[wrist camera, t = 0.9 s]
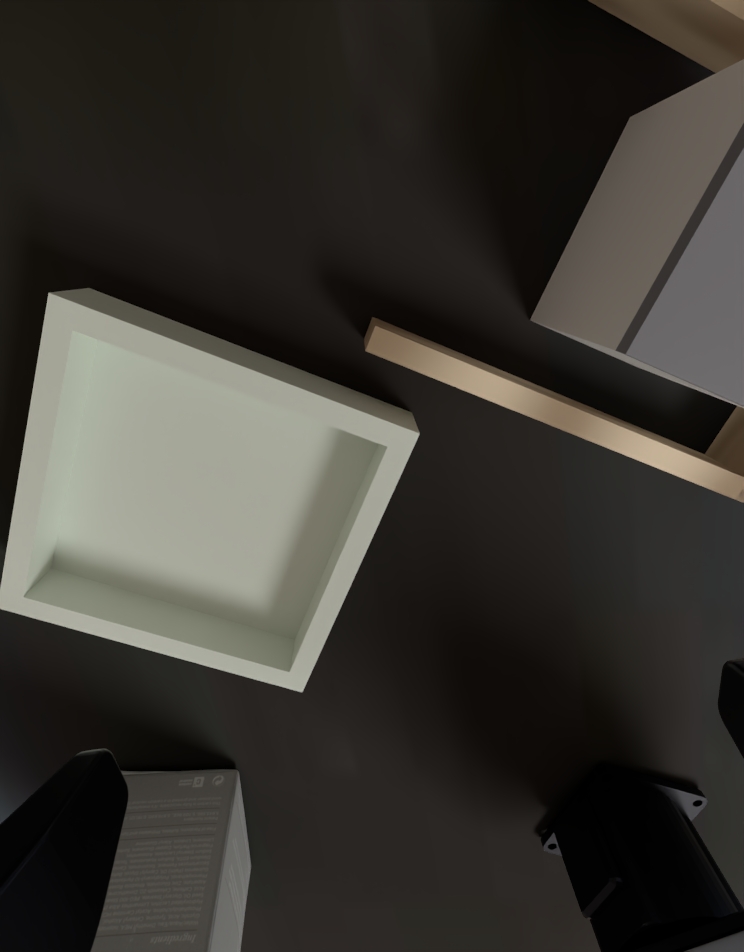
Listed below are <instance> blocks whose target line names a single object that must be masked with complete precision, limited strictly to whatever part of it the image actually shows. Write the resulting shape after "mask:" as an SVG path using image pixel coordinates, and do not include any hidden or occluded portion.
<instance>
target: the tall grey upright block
mask: <svg viewBox="0 0 744 952" xmlns="http://www.w3.org/2000/svg"><path fill="white" fill-rule="evenodd" d="M530 321H533V322H535V323H537V324H540V325H542V326H544V327H546V328H549V329H551V330H553V331H556V332H558V333H560V334H562V335H565V336H567V337H569V338H572V339H574V340H576V341H578V342H581V343H583V344H585V345H588V346H590V347H592V348H594V349H597V350H599V351H601V352H604V353H606V354H608V355H610V356H613V357H615V358H617V359H620V360H622V361H624V362H627V363H629V364H631V365H633V366H636V367H638V368H641V369H643V370H646V371H648V372H651V373H654V374H656V375H659V376H661V377H664V378H667V379H669V380H672V381H674V382H677V383H680V384H682V385H685V386H687V387H690V388H693V389H695V390H698V391H700V392H703V393H706V394H708V395H711V396H713V397H716V398H718V399H721V400H724V401H726V402H729V403H731V404H734V405H737V406H739V407H742V408H744V59H743V60H741V61H739V62H737V63H735V64H733V65H731V66H729V67H727V68H725V69H723V70H721V71H719V72H718V73H716V74H714V75H712V76H710V77H708V78H706V79H704V80H702V81H700V82H698V83H696V84H694V85H692V86H690V87H688V88H686V89H684V90H682V91H680V92H678V93H676V94H674V95H673V96H671V97H669V98H667V99H665V100H663V101H661V102H659V103H657V104H655V105H653V106H651V107H649V108H647V109H645V110H643V111H641V112H639V113H637V114H635V115H633V116H631V117H630V118H629V120H628V122H627V124H626V126H625V128H624V130H623V132H622V134H621V136H620V138H619V140H618V142H617V145H616V147H615V149H614V151H613V153H612V155H611V157H610V159H609V161H608V163H607V165H606V167H605V169H604V171H603V173H602V175H601V177H600V179H599V181H598V183H597V185H596V187H595V189H594V191H593V193H592V195H591V197H590V199H589V201H588V203H587V205H586V207H585V209H584V211H583V213H582V215H581V217H580V219H579V221H578V224H577V226H576V228H575V230H574V232H573V234H572V236H571V238H570V240H569V242H568V244H567V246H566V248H565V250H564V252H563V254H562V256H561V258H560V260H559V262H558V264H557V266H556V268H555V270H554V272H553V274H552V276H551V278H550V280H549V282H548V284H547V286H546V288H545V290H544V292H543V294H542V296H541V298H540V301H539V303H538V305H537V307H536V309H535V311H534V313H533V315H532V317H531V319H530Z"/></svg>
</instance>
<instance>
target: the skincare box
mask: <svg viewBox="0 0 744 952" xmlns="http://www.w3.org/2000/svg"><path fill="white" fill-rule="evenodd" d="M121 773H122V775H123V777H124V779H125V781H126V783H127V786H128V804H127V809H126V813H125V817H124V822H123V826H122V830H121V835H120V839H119V843H118V848H117V852H116V856H115V861H114V865H113V869H112V874H111V878H110V882H109V887H108V891H107V895H106V900H105V904H104V908H103V912H102V915H101V919H100V923H99V926H98V930H97V933H96V936H95V940H94V943H93V946H92V949H91V952H240V948H241V940H242V932H243V924H244V915H245V907H246V900H247V892H248V885H249V878H250V871H251V861H250V853H249V845H248V837H247V830H246V822H245V814H244V806H243V799H242V792H241V784H240V777H239V772H238V770H227V769H217V770H196V771H173V772H166V771H148V772H147V771H142V772H139V771H121Z"/></svg>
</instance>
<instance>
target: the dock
mask: <svg viewBox="0 0 744 952" xmlns="http://www.w3.org/2000/svg"><path fill="white" fill-rule="evenodd" d="M588 1H589V2H591V3H593V4H595V5H596V6H598V7H600V8H602V9H604V10H605V11H607V12H609V13H611V14H612V15H614V16H616V17H618V18H619V19H621V20H623V21H625V22H626V23H628V24H630V25H632V26H634V27H635V28H637V29H639V30H641V31H642V32H644V33H646V34H648V35H649V36H651V37H653V38H655V39H656V40H658V41H660V42H662V43H663V44H665V45H667V46H669V47H671V48H672V49H674V50H676V51H678V52H679V53H681V54H683V55H685V56H686V57H688V58H690V59H692V60H693V61H695V62H697V63H699V64H700V65H702V66H704V67H706V68H708V69H709V70H711V71H713V72H715V73H718V72H719V71H721V70H723V69H725V68H727V67H729V66H731V65H733V64H735V63H737V62H739V61H741V60H743V59H744V0H588ZM364 344H365V351H367V352H369V353H372V354H374V355H377V356H379V357H382V358H384V359H387V360H389V361H392V362H394V363H397V364H399V365H402V366H404V367H407V368H409V369H412V370H414V371H417V372H419V373H422V374H424V375H426V376H429V377H431V378H434V379H436V380H439V381H441V382H444V383H446V384H449V385H451V386H454V387H456V388H459V389H461V390H464V391H466V392H469V393H471V394H474V395H476V396H479V397H481V398H484V399H486V400H489V401H491V402H494V403H496V404H499V405H501V406H504V407H506V408H509V409H511V410H514V411H516V412H519V413H521V414H524V415H526V416H529V417H531V418H534V419H536V420H539V421H541V422H544V423H546V424H549V425H551V426H554V427H556V428H559V429H561V430H563V431H566V432H568V433H571V434H573V435H576V436H578V437H581V438H583V439H586V440H588V441H591V442H593V443H596V444H598V445H601V446H603V447H606V448H608V449H611V450H613V451H616V452H618V453H621V454H623V455H626V456H628V457H631V458H633V459H636V460H638V461H641V462H643V463H646V464H648V465H651V466H653V467H656V468H658V469H661V470H663V471H666V472H668V473H671V474H673V475H676V476H678V477H681V478H683V479H686V480H688V481H691V482H693V483H696V484H698V485H700V486H703V487H705V488H708V489H710V490H713V491H715V492H718V493H720V494H723V495H725V496H728V497H730V498H733V499H735V500H738V501H740V502H743V503H744V408H742V407H739V406H737V407H736V408H735V410H734V411H733V413H732V414H731V416H730V417H729V419H728V420H727V422H726V423H725V425H724V426H723V428H722V429H721V431H720V432H719V434H718V435H717V436H716V438H715V439H714V441H713V442H712V444H711V445H710V447H709V448H708V450H707V451H706V453H705V454H703V453H700V452H698V451H695V450H693V449H690V448H688V447H686V446H683V445H681V444H678V443H676V442H674V441H671V440H669V439H666V438H664V437H661V436H659V435H657V434H654V433H652V432H649V431H647V430H645V429H642V428H640V427H637V426H635V425H633V424H630V423H628V422H625V421H623V420H620V419H618V418H616V417H613V416H611V415H608V414H606V413H604V412H601V411H599V410H596V409H594V408H592V407H589V406H587V405H584V404H582V403H579V402H577V401H575V400H572V399H570V398H567V397H565V396H563V395H560V394H558V393H555V392H553V391H550V390H548V389H546V388H543V387H541V386H538V385H536V384H534V383H531V382H529V381H526V380H524V379H522V378H519V377H517V376H514V375H512V374H509V373H507V372H505V371H502V370H500V369H497V368H495V367H493V366H490V365H488V364H485V363H483V362H481V361H478V360H476V359H473V358H471V357H468V356H466V355H464V354H461V353H459V352H456V351H454V350H452V349H449V348H447V347H444V346H442V345H439V344H437V343H435V342H432V341H430V340H427V339H425V338H423V337H420V336H418V335H415V334H413V333H411V332H408V331H406V330H403V329H401V328H398V327H396V326H394V325H391V324H389V323H386V322H384V321H382V320H379V319H377V318H374V317H372V319H371V322H370V325H369V327H368V330H367V332H366V335H365V338H364Z"/></svg>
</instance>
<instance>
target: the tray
mask: <svg viewBox="0 0 744 952" xmlns="http://www.w3.org/2000/svg"><path fill="white" fill-rule="evenodd" d="M419 434H420V433H419V430H418V428H417V425H416V422H415V420H414V417H413V414H412V412H409V411H407V410H404V409H401V408H399V407H396V406H394V405H391V404H388V403H386V402H383V401H381V400H378V399H375V398H373V397H370V396H368V395H365V394H363V393H360V392H357V391H355V390H352V389H350V388H347V387H344V386H342V385H339V384H337V383H334V382H331V381H329V380H326V379H324V378H321V377H318V376H316V375H313V374H311V373H308V372H306V371H303V370H300V369H298V368H295V367H293V366H290V365H287V364H285V363H282V362H280V361H277V360H274V359H272V358H269V357H267V356H264V355H262V354H259V353H256V352H254V351H251V350H249V349H246V348H243V347H241V346H238V345H236V344H233V343H230V342H228V341H225V340H223V339H220V338H218V337H215V336H212V335H210V334H207V333H205V332H202V331H199V330H197V329H194V328H192V327H189V326H186V325H184V324H181V323H179V322H176V321H174V320H171V319H168V318H166V317H163V316H161V315H158V314H155V313H153V312H150V311H148V310H145V309H142V308H140V307H137V306H135V305H132V304H130V303H127V302H124V301H122V300H119V299H117V298H114V297H111V296H109V295H106V294H104V293H101V292H98V291H96V290H93V289H91V288H85V289H76V290H67V291H59V292H50V293H48V299H47V305H46V312H45V318H44V324H43V330H42V336H41V342H40V348H39V354H38V361H37V367H36V373H35V379H34V385H33V391H32V397H31V403H30V410H29V416H28V422H27V428H26V434H25V440H24V446H23V452H22V458H21V465H20V471H19V477H18V483H17V489H16V495H15V501H14V507H13V514H12V520H11V526H10V532H9V538H8V544H7V550H6V556H5V563H4V569H3V575H2V581H1V587H0V609H2V610H6V611H10V612H13V613H17V614H20V615H24V616H28V617H31V618H35V619H38V620H42V621H46V622H49V623H53V624H57V625H60V626H64V627H67V628H71V629H75V630H78V631H82V632H85V633H89V634H93V635H96V636H100V637H104V638H107V639H111V640H114V641H118V642H122V643H125V644H129V645H132V646H136V647H140V648H143V649H147V650H151V651H154V652H158V653H161V654H165V655H169V656H172V657H176V658H179V659H183V660H187V661H190V662H194V663H198V664H201V665H205V666H208V667H212V668H216V669H219V670H223V671H227V672H230V673H234V674H237V675H241V676H245V677H248V678H252V679H255V680H259V681H263V682H266V683H270V684H274V685H277V686H281V687H284V688H288V689H292V690H295V691H299V692H303V690H304V688H305V685H306V683H307V681H308V679H309V677H310V674H311V672H312V670H313V668H314V666H315V663H316V661H317V659H318V657H319V655H320V652H321V650H322V648H323V646H324V644H325V641H326V639H327V637H328V635H329V633H330V630H331V628H332V626H333V624H334V622H335V619H336V617H337V615H338V613H339V610H340V608H341V606H342V604H343V602H344V599H345V597H346V595H347V593H348V591H349V588H350V586H351V584H352V582H353V580H354V577H355V575H356V573H357V571H358V569H359V566H360V564H361V562H362V560H363V558H364V555H365V553H366V551H367V549H368V547H369V544H370V542H371V540H372V538H373V536H374V533H375V531H376V529H377V527H378V525H379V522H380V520H381V518H382V516H383V514H384V511H385V509H386V507H387V505H388V503H389V500H390V498H391V496H392V494H393V492H394V489H395V487H396V485H397V483H398V481H399V478H400V476H401V474H402V472H403V470H404V467H405V465H406V463H407V461H408V459H409V456H410V454H411V452H412V450H413V448H414V445H415V443H416V441H417V439H418V437H419Z"/></svg>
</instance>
